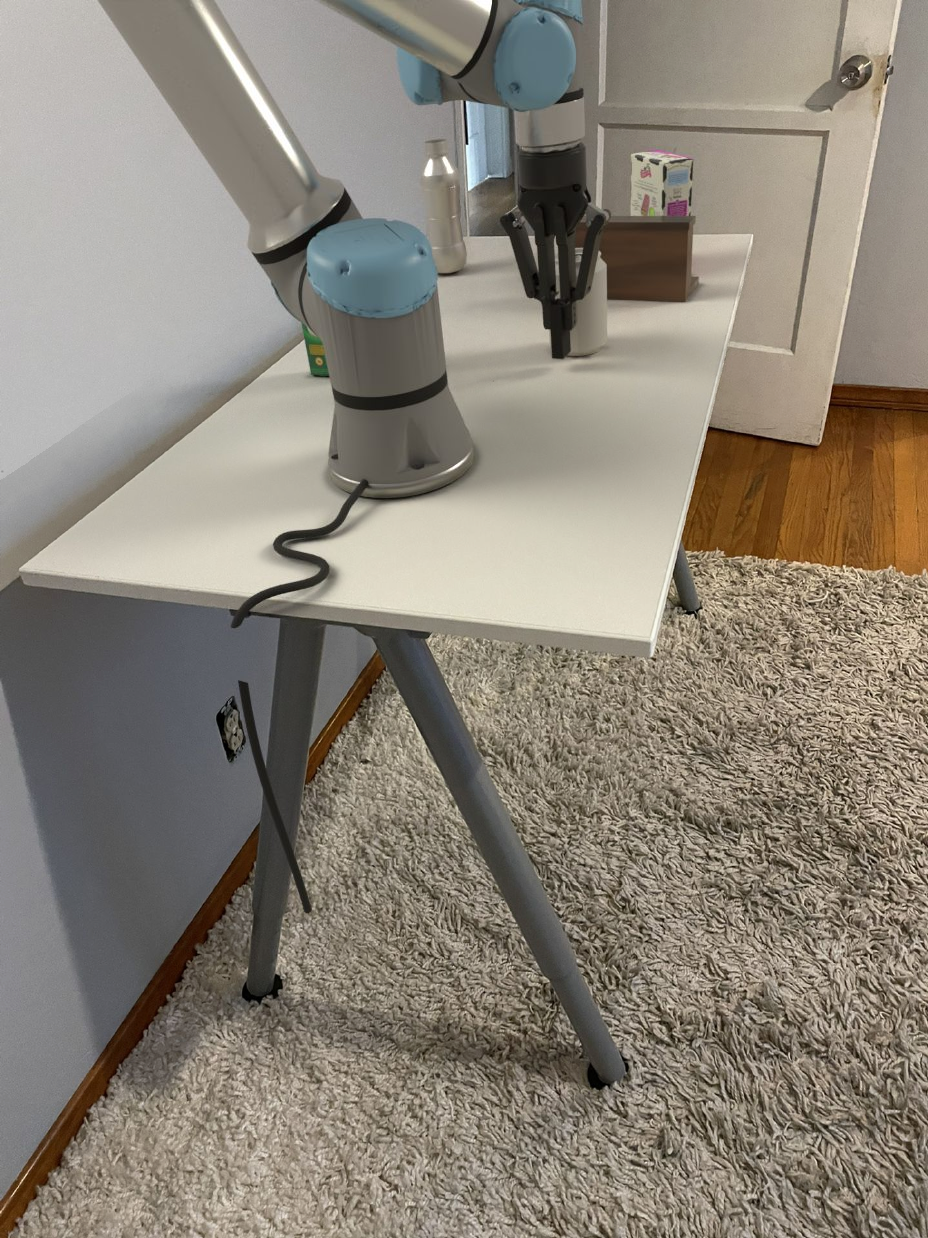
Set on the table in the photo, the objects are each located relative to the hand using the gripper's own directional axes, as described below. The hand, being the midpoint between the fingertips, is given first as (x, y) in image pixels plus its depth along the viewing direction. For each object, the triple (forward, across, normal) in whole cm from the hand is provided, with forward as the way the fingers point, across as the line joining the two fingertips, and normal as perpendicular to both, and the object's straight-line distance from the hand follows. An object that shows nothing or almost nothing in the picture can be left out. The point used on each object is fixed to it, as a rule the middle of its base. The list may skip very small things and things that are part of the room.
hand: (561, 354), depth 114 cm
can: (+2, 0, -7) cm, 7 cm away
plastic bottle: (+2, +35, -38) cm, 51 cm away
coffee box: (+2, +28, +7) cm, 29 cm away
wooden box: (+2, +1, -31) cm, 31 cm away
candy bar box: (+2, 0, -42) cm, 42 cm away
